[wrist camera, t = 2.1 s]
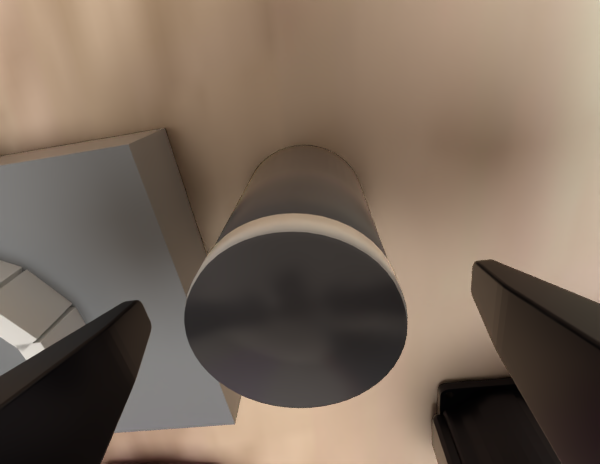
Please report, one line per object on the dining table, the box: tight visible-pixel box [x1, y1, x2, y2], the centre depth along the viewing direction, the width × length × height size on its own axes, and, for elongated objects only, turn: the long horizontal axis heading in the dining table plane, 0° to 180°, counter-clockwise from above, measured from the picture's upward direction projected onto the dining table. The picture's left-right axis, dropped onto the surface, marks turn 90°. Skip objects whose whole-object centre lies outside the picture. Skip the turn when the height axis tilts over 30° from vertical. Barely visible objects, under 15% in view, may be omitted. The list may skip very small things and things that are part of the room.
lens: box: [184, 145, 408, 408], centre depth 11 cm, size 5×5×8 cm
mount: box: [0, 128, 241, 433], centre depth 15 cm, size 18×14×5 cm
